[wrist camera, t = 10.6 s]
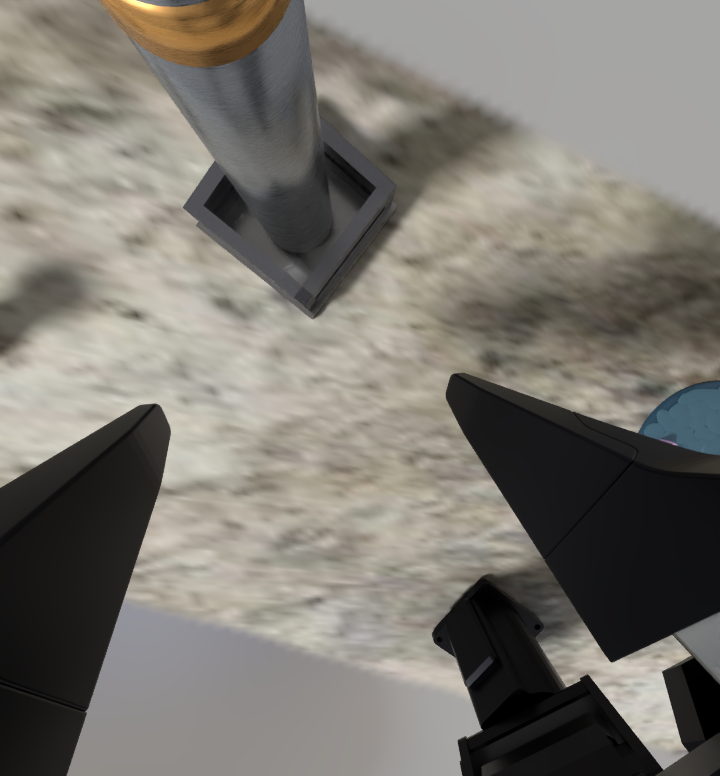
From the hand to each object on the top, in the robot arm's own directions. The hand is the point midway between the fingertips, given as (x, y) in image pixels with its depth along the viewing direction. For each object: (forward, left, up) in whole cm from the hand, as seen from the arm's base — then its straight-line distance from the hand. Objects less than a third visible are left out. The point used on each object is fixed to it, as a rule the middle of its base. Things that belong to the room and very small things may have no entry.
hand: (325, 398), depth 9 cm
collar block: (+8, -6, -10) cm, 15 cm away
